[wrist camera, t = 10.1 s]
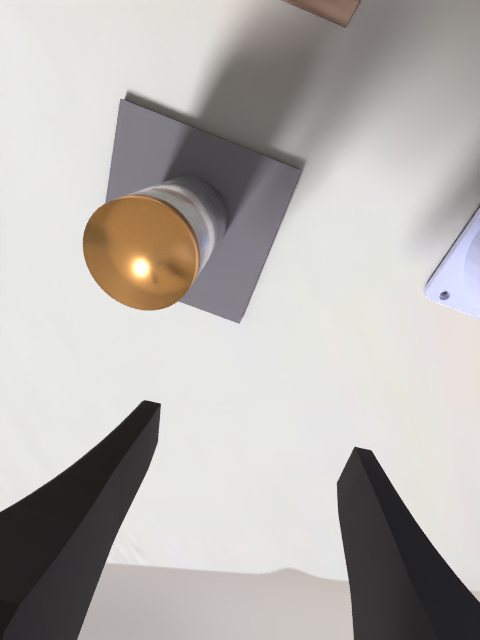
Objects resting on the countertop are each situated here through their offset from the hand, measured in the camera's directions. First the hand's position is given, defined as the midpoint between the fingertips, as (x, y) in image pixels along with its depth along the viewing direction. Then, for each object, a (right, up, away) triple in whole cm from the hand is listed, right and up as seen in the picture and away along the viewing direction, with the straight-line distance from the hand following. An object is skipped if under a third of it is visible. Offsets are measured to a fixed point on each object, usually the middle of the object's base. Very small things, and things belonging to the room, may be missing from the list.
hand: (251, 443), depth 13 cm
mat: (-3, +10, +6) cm, 12 cm away
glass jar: (-3, +10, +5) cm, 12 cm away
